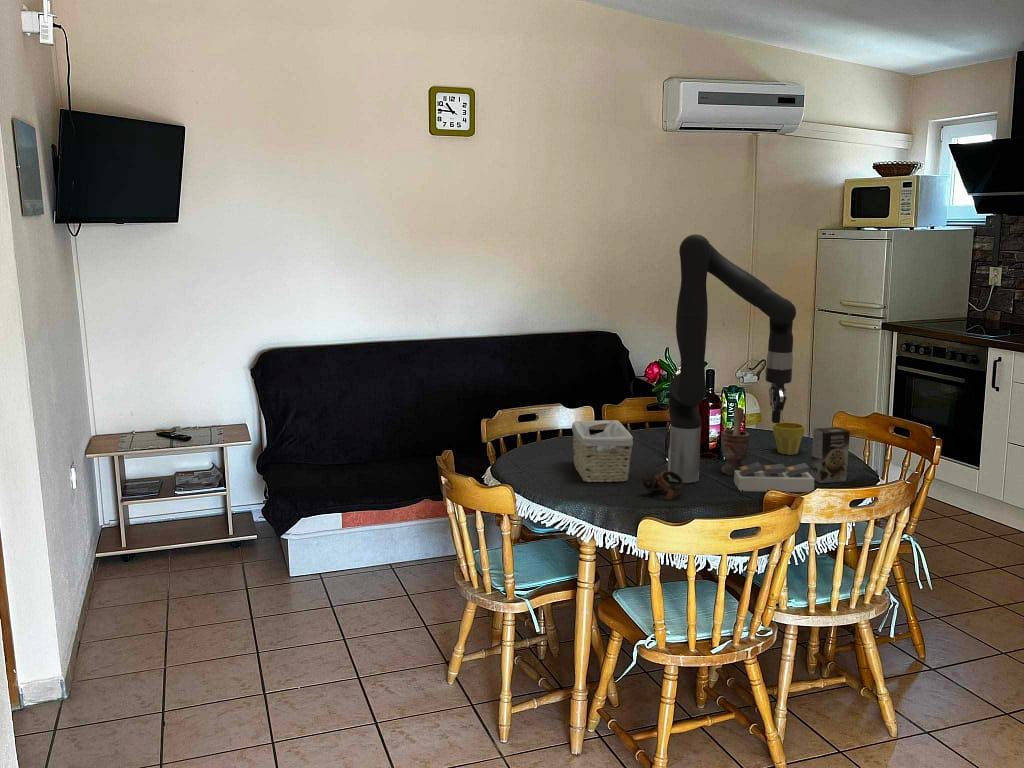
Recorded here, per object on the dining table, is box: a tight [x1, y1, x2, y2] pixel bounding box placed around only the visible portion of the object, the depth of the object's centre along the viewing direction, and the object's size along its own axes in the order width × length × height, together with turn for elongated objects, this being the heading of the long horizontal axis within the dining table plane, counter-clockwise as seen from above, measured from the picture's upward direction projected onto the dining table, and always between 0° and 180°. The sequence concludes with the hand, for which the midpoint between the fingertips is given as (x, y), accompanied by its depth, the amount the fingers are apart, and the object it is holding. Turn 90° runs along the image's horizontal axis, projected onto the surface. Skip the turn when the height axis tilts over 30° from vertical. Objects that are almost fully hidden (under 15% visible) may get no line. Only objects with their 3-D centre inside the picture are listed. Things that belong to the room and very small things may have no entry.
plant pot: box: [772, 421, 806, 456], centre depth 315 cm, size 10×10×10 cm
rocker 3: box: [785, 462, 811, 476], centre depth 276 cm, size 6×4×2 cm
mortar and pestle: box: [720, 407, 750, 476], centre depth 293 cm, size 12×9×20 cm
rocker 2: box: [761, 463, 787, 474], centre depth 277 cm, size 6×4×2 cm
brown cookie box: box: [809, 426, 851, 484], centre depth 284 cm, size 9×6×16 cm
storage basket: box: [571, 419, 634, 483], centre depth 291 cm, size 24×16×15 cm
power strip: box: [733, 470, 815, 493], centre depth 277 cm, size 22×8×5 cm, turn 87°
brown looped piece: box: [641, 470, 684, 501], centre depth 270 cm, size 12×10×8 cm
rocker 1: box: [739, 461, 763, 476], centre depth 277 cm, size 6×4×2 cm
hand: (775, 422), depth 277 cm, fingers closed
